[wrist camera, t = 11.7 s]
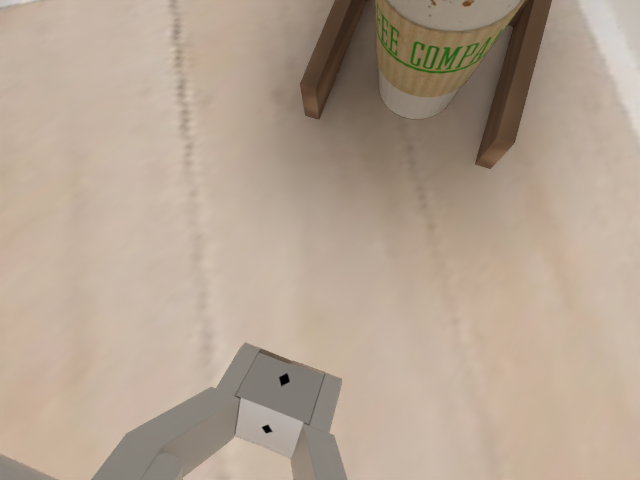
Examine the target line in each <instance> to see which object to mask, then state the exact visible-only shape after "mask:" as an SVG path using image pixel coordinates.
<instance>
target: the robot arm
mask: <svg viewBox="0 0 640 480" xmlns="http://www.w3.org/2000/svg"><path fill="white" fill-rule="evenodd" d="M341 385H342V378H339V377H336V376H333V375H331V374H328V373H325V372H324V371H321V370H318V369H315V368H313V367H310V366H307V365H304V364H301V363H299V362H296V361H291V360H289V359H286V358H284V357H281V356H279V355H276V354H274V353H271V352H269V351H266V350H264V349H261V348H259V347H256V346H254V345H251V344H248V343H246V342H245V343H244V344H243V345H242V346H241V348H240V349H239V351H238V353H237V354H236V356H235V358H234V359H233V361H232V363H231V364H230V366H229V368H228V369H227V371H226V373H225V374H224V376H223V378H222V379H221V381H220V383H219V384H218V386H217V388H216V389H215V388H213V387H210V388H208V389H206V390H205V391H203V392H201V393H199V394H197V395H195V396H194V397H192V398H190V399H188V400H186V401H185V402H183V403H181V404H179V405H177V406H176V407H174V408H172V409H170V410H168V411H167V412H165V413H163V414H161V415H159V416H157V417H156V418H154V419H152V420H150V421H148V422H147V423H145V424H143V425H141V426H139V427H138V428H136V429H134V430H132V431H130V432H128V433H127V434H126V435H125V436H124V437H123V439H122V440H121V441H120V443H119V444H118V445H117V447H116V448H115V449H114V451H113V452H112V453H111V455H110V456H109V457H108V458H107V460H106V461H105V462H104V464H103V465H102V466H101V468H100V469H99V470H98V472H97V473H96V474H95V476H94V477H93V478H92V480H183V477H184V476H186V475H187V474H188V473H190V472H191V471H192V470H193V469H195V468H196V467H197V466H199V465H200V464H201V463H202V462H204V461H205V460H206V459H208V458H209V457H210V456H211V455H213V454H214V453H215V452H217V451H218V450H219V449H220V448H222V447H223V446H224V445H226V444H227V443H228V442H229V441H231V440H232V439H233V438H234V436H236V437H238V438H241V439H244V440H246V441H249V442H252V443H254V444H257V445H260V446H262V447H265V448H267V449H269V450H272V451H274V452H276V453H278V454H281V455H283V456H285V457H288V458H290V459H291V466H292V473H293V479H294V480H347V476H346V473H345V470H344V466H343V463H342V460H341V456H340V453H339V450H338V446H337V443H336V440H335V436H334V435H332V434H330V433H329V432H330V428H331V424H332V420H333V416H334V412H335V408H336V404H337V400H338V396H339V393H340V389H341ZM0 480H58V479H56V478H54V477H52V476H49V475H47V474H45V473H43V472H40V471H38V470H36V469H34V468H31V467H29V466H27V465H25V464H23V463H20V462H18V461H16V460H14V459H11V458H9V457H7V456H5V455H2V454H0Z"/></svg>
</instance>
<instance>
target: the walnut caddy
mask: <svg viewBox="0 0 640 480" xmlns="http://www.w3.org/2000/svg"><path fill="white" fill-rule="evenodd" d="M365 1H366V0H335V1H334V4H333V6H332V9H331V11H330V13H329V16H328V18H327V21H326V23H325V25H324V28H323V30H322V33H321V35H320V37H319V40H318V42H317V45H316V47H315V49H314V52H313V54H312V57H311V59H310V61H309V64H308V66H307V68H306V71H305V73H304V76H303V78H302V80H301V83H300V87H301V93H302V99H303V105H304V110H305V115H306V116H309V117H313V118H316V119H319V118H320V115H321V113H322V110H323V108H324V105H325V103H326V100H327V97H328V95H329V92H330V90H331V87H332V85H333V82H334V80H335V77H336V75H337V72H338V70H339V67H340V65H341V62H342V60H343V57H344V54H345V52H346V49H347V47H348V44H349V42H350V39H351V37H352V34H353V32H354V29H355V27H356V24H357V22H358V19H359V16H360V14H361V11H362V9H363V6H364V4H365ZM551 2H552V0H525V1H524V3H523V4H522V5H521V7H520V8H519V10H518V11H517V12H516V14H515V15H514V17H513V18H512V19H511V21H510V22H509V24H508V25H511V26H514V29H513V33H512V36H511V40H510V43H509V47H508V50H507V54H506V57H505V61H504V65H503V68H502V72H501V75H500V79H499V82H498V86H497V89H496V93H495V96H494V100H493V103H492V107H491V111H490V114H489V118H488V121H487V125H486V128H485V132H484V135H483V139H482V142H481V146H480V149H479V153H478V156H477V160H476V165H480V166H483V167H487V168H490V169H491V168H492V167H493V166H494V165H495V164H496V162H497V161H498V160H499V159H500V158H501V157H502V156H503V155H504V154H505V153H506V152H507V151H508V150H509V149H510V147H511V146H512V145H513V144H514V143H515V139H516V136H517V132H518V128H519V124H520V120H521V116H522V113H523V109H524V105H525V101H526V97H527V94H528V90H529V86H530V82H531V78H532V74H533V71H534V67H535V63H536V59H537V55H538V51H539V48H540V44H541V40H542V36H543V32H544V28H545V25H546V21H547V17H548V13H549V9H550V5H551Z"/></svg>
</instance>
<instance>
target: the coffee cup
mask: <svg viewBox="0 0 640 480" xmlns="http://www.w3.org/2000/svg"><path fill="white" fill-rule="evenodd" d="M524 1H525V0H375V9H376V47H377V61H378V66H379V91H380V95H381V98H382V100H383V102H384V103H385V105H386V106H387V107H388V108H389V109H390V110H391V111H393V112H394V113H396V114H397V115H400V116H402V117H405V118H410V119H425V118H429V117H432V116H434V115H436V114H438V113H440V112H441V111H442V110H444V109H445V108H446V107H447V105H448V104H449V103H450V101H451V100H452V99H453V97H454V96H455V94H456V93H457V91H458V90H459V88H460V87H461V86H462V85H463V84H464V83H466V81H467V80H468V79H469V78H470V76H471V75H472V74H473V72H474V71H475V70H476V68H477V67H478V65H479V64H480V63H481V61H482V60H483V58H484V57H485V56H486V54H487V53H488V51H489V50H490V49H491V47H492V46H493V44H494V43H495V42H496V40H497V39H498V37H499V36H500V35H501V33H502V32H503V31H504V29H505V28H506V26H507V25H508V24H509V22H510V21H511V19H512V18H513V17H514V15H515V14H516V12H517V11H518V10H519V8H520V7H521V5H522V4H523V3H524Z"/></svg>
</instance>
